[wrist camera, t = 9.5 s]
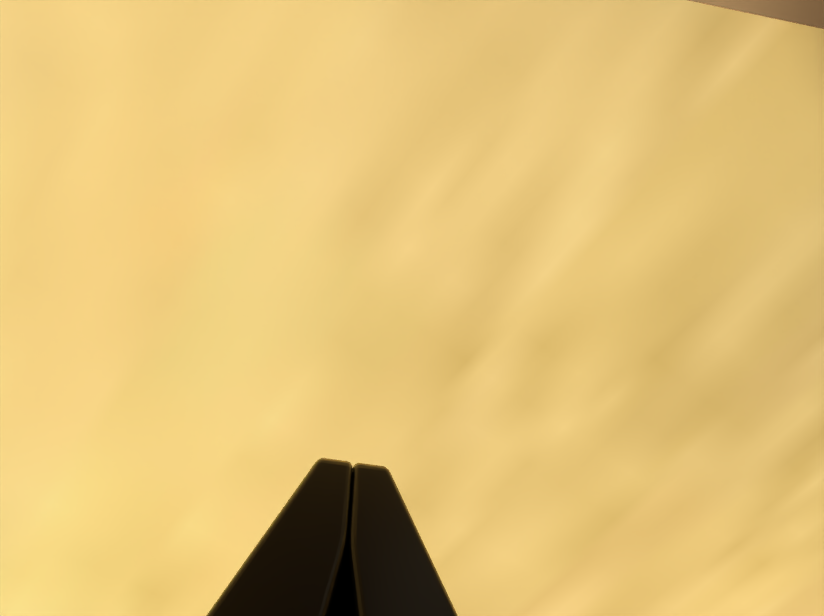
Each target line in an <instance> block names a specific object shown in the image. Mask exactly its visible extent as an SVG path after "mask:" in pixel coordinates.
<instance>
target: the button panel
mask: <svg viewBox="0 0 824 616" xmlns="http://www.w3.org/2000/svg"><path fill="white" fill-rule="evenodd" d="M689 1H694V2H699V3H703V4H708V5H713V6H718V7H722V8H727V9H732V10H737V11H741V12H746V13H751V14H756V15H760V16H765V17H770V18H775V19H779V20H784V21H789V22H794V23H798V24H803V25H808V26H813V27H817V28H822V29H824V0H689Z"/></svg>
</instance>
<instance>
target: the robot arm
mask: <svg viewBox="0 0 824 616" xmlns="http://www.w3.org/2000/svg"><path fill="white" fill-rule="evenodd" d="M207 616H457V614H456V611H455V609H454V607H453V605H452V603H451V601H450V599H449V597H448V594H447V592H446V590H445V588H444V586H443V584H442V582H441V580H440V577H439V575H438V573H437V571H436V569H435V567H434V565H433V563H432V560H431V558H430V556H429V554H428V552H427V550H426V548H425V546H424V543H423V541H422V539H421V537H420V535H419V533H418V531H417V529H416V526H415V524H414V522H413V520H412V518H411V516H410V514H409V512H408V509H407V507H406V505H405V503H404V501H403V499H402V497H401V495H400V492H399V490H398V488H397V486H396V484H395V482H394V480H393V478H392V475H391V473H390V472H389V470H388V469H387V468H386V467H383V466H377V465H370V464H363V463H357V464H355V465H354V467H353V469H352V465H351V463H350V462H347V461H341V460H333V459H326V458H321V459H319V460H318V461H317V462H316V463H315V464H314V465H313V467H312V468H311V469H310V471H309V472H308V474H307V475H306V477H305V478H304V479H303V481H302V482H301V484H300V485H299V486H298V488H297V489H296V491H295V492H294V493H293V495H292V496H291V498H290V499H289V500H288V502H287V503H286V505H285V506H284V507H283V509H282V510H281V512H280V513H279V514H278V516H277V517H276V519H275V520H274V521H273V523H272V524H271V526H270V527H269V529H268V530H267V531H266V533H265V534H264V536H263V537H262V538H261V540H260V541H259V543H258V544H257V545H256V547H255V548H254V550H253V551H252V552H251V554H250V555H249V557H248V558H247V559H246V561H245V562H244V564H243V565H242V566H241V568H240V569H239V571H238V572H237V574H236V575H235V576H234V578H233V579H232V581H231V582H230V583H229V585H228V586H227V588H226V589H225V590H224V592H223V593H222V595H221V596H220V597H219V599H218V600H217V602H216V603H215V604H214V606H213V607H212V609H211V610H210V611H209V613H208V614H207Z"/></svg>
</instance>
